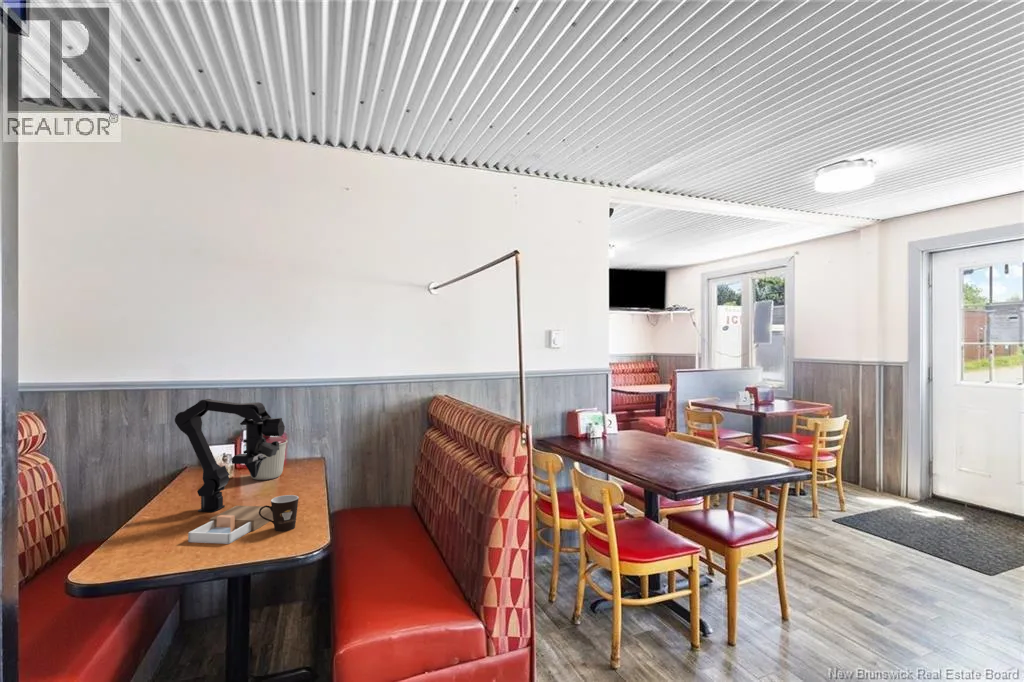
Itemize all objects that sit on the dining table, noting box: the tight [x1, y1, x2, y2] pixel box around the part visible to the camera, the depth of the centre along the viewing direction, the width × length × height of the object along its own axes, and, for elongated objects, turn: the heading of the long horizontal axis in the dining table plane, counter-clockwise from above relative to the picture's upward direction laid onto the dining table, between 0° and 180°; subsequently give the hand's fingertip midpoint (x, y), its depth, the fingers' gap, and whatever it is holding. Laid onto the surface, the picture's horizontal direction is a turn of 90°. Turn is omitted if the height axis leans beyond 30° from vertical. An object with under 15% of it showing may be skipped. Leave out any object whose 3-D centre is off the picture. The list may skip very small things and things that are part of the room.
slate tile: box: [207, 527, 231, 533], centre depth 164 cm, size 5×5×2 cm
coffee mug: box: [259, 494, 299, 533], centre depth 171 cm, size 12×9×10 cm
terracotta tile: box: [217, 515, 235, 532], centre depth 168 cm, size 5×5×2 cm
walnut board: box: [209, 505, 273, 532], centre depth 177 cm, size 16×14×4 cm
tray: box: [187, 520, 251, 545], centre depth 164 cm, size 14×11×3 cm
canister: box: [244, 434, 288, 481], centre depth 237 cm, size 18×18×21 cm
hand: (254, 477), depth 191 cm, fingers closed
